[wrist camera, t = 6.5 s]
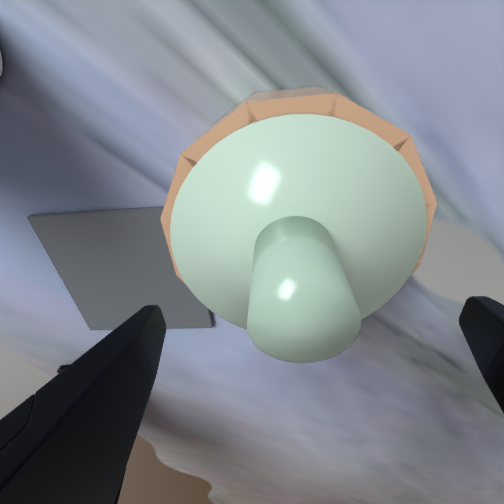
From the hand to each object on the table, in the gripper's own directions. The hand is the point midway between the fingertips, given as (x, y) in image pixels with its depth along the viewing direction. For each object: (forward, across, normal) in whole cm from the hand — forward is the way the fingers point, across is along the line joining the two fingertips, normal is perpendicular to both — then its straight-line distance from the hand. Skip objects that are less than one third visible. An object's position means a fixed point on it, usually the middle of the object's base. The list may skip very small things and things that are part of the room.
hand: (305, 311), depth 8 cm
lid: (+4, 0, 0) cm, 4 cm away
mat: (+9, +11, +5) cm, 15 cm away
